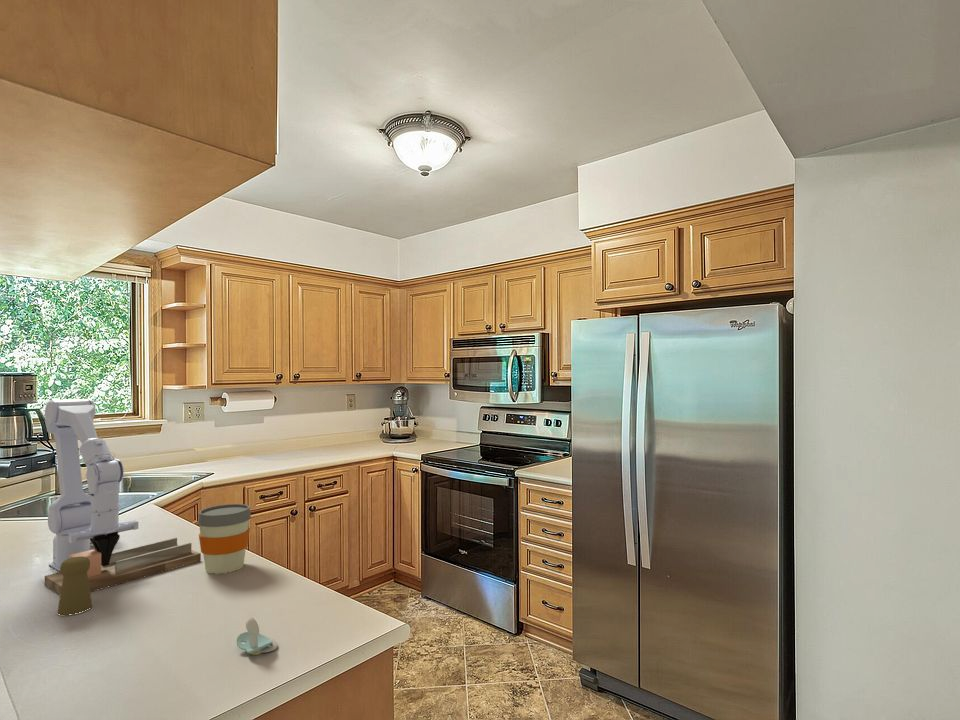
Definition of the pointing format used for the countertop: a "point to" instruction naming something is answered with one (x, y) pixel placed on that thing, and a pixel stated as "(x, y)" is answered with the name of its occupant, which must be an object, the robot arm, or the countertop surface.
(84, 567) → the cork
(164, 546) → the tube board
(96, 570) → the block
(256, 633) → the pacifier
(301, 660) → the countertop surface
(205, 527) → the reusable coffee cup
